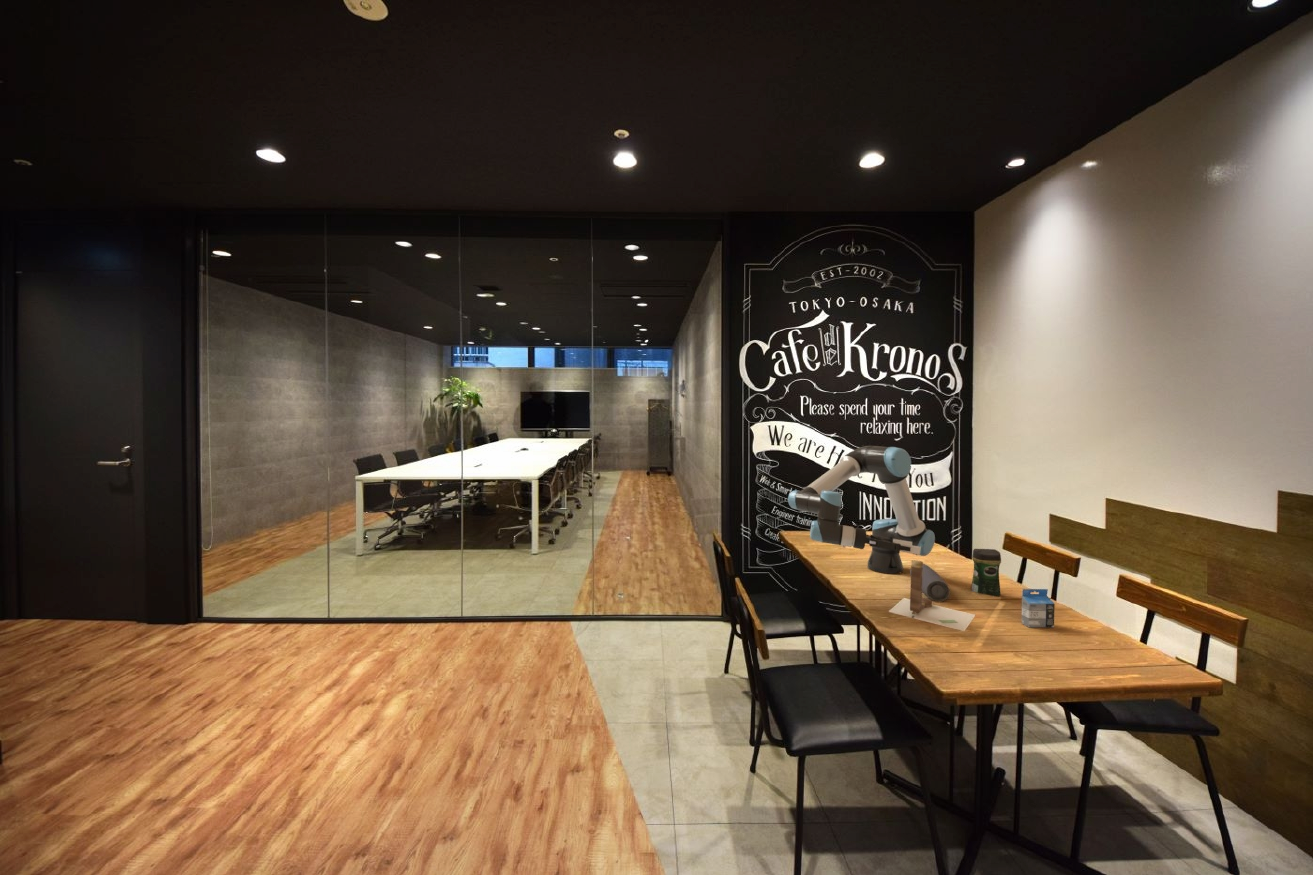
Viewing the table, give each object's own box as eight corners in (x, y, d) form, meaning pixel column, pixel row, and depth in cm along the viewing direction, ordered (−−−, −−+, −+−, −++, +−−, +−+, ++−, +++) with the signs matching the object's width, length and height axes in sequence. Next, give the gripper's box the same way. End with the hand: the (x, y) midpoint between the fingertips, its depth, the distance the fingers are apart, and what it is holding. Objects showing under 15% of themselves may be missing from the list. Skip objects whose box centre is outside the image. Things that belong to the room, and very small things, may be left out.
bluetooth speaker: (951, 606, 194) (952, 580, 194) (924, 604, 196) (925, 578, 196) (931, 585, 217) (932, 562, 216) (908, 584, 218) (908, 561, 218)
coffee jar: (993, 591, 209) (995, 547, 208) (1003, 599, 202) (1005, 552, 200) (967, 590, 211) (969, 546, 210) (976, 597, 203) (978, 551, 202)
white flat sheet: (888, 615, 185) (888, 611, 185) (903, 601, 199) (903, 597, 199) (964, 635, 169) (964, 630, 169) (975, 618, 183) (975, 614, 182)
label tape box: (1028, 628, 175) (1030, 592, 174) (1020, 623, 179) (1021, 588, 179) (1054, 628, 175) (1056, 592, 174) (1045, 623, 179) (1047, 588, 178)
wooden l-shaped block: (918, 601, 194) (920, 552, 193) (933, 604, 191) (935, 554, 190) (905, 614, 182) (907, 562, 181) (920, 618, 179) (922, 565, 178)
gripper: (848, 543, 203) (907, 553, 197) (855, 552, 179) (922, 564, 173) (851, 524, 203) (909, 534, 197) (858, 530, 179) (925, 542, 173)
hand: (915, 548), depth 185 cm, fingers open, 13 cm apart
